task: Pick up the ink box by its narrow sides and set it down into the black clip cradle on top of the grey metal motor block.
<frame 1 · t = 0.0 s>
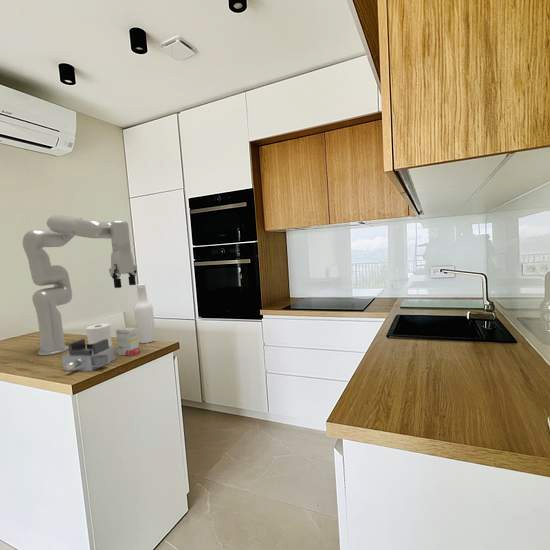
hand: (125, 286, 148), 31 cm above the worktop, tool pointing down, fingers open, 9 cm apart
toilet paper: (101, 350, 159), on the worktop
motor: (91, 364, 139), on the worktop
alcohol: (146, 341, 170), on the worktop
ink box: (129, 354, 150), on the worktop
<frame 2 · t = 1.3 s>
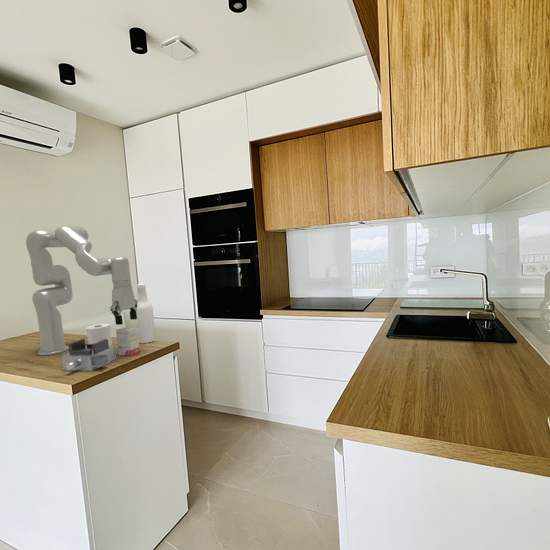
hand: (126, 321, 149), 15 cm above the worktop, tool pointing down, fingers open, 9 cm apart
nothing on the worktop moved.
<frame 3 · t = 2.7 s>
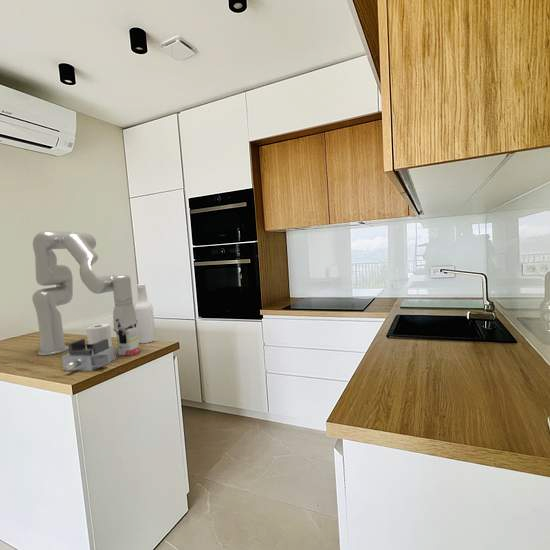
hand: (127, 340, 150), 6 cm above the worktop, tool pointing down, fingers closed on ink box, 5 cm apart
ink box: (129, 354, 150), on the worktop, touching gripper
everything else where it was.
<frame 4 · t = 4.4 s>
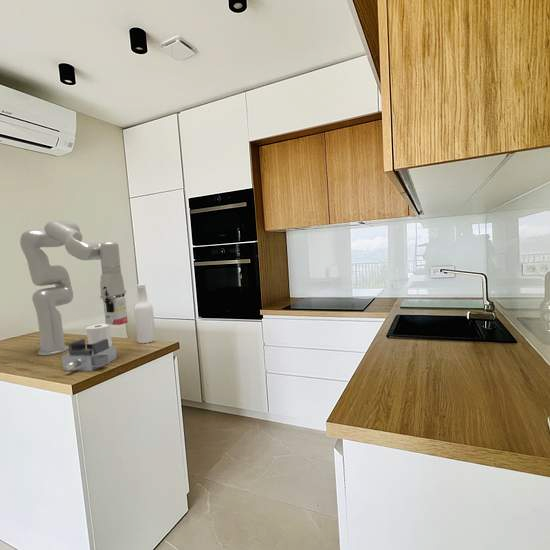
hand: (115, 310, 146), 21 cm above the worktop, tool pointing down, fingers closed on ink box, 5 cm apart
ink box: (116, 324, 146), point 15 cm above the worktop, touching gripper
everything else where it was.
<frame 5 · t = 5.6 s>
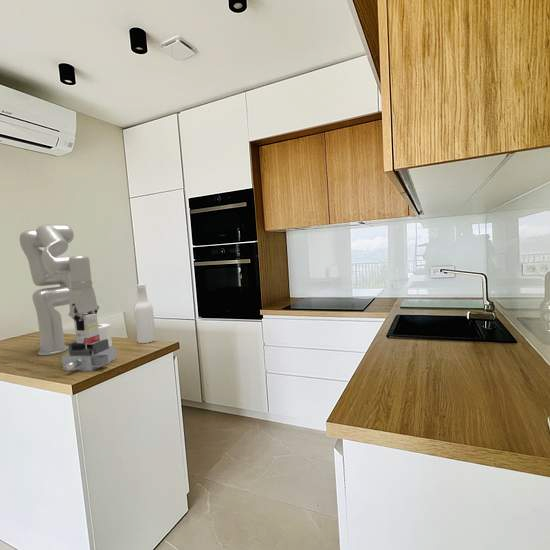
hand: (86, 327, 137), 16 cm above the worktop, tool pointing down, fingers closed on ink box, 5 cm apart
ink box: (88, 342, 138), point 10 cm above the worktop, touching gripper
everything else where it was.
when the fingers open (13 cm above the worktop, at t = 6.4 s): ink box stays where it is, resting on motor.
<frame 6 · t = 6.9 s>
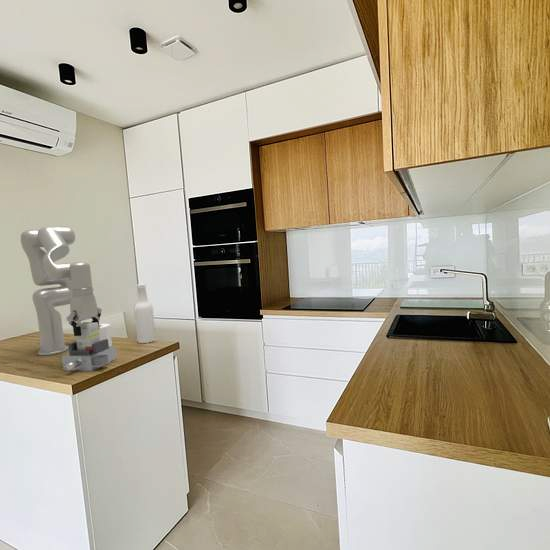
hand: (87, 332, 137), 14 cm above the worktop, tool pointing down, fingers open, 9 cm apart
ink box: (89, 350, 138), point 6 cm above the worktop, touching motor
everything else where it was.
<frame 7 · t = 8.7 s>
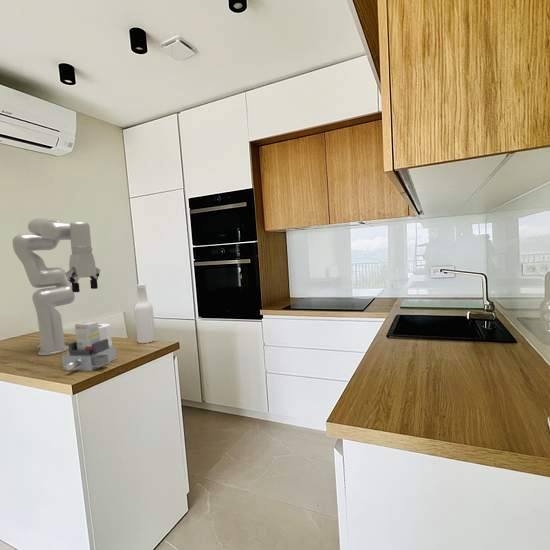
hand: (85, 290, 142), 31 cm above the worktop, tool pointing down, fingers open, 9 cm apart
nothing on the worktop moved.
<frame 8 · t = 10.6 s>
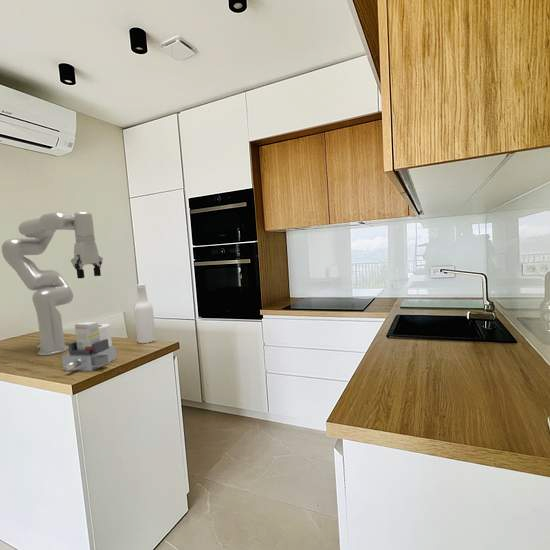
hand: (89, 277, 150), 36 cm above the worktop, tool pointing down, fingers open, 9 cm apart
nothing on the worktop moved.
at the end: ink box 0.2 cm off-centre on the motor, point 5.8 cm above the motor's base; ink box tilted 0°; the gripper is holding nothing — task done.
